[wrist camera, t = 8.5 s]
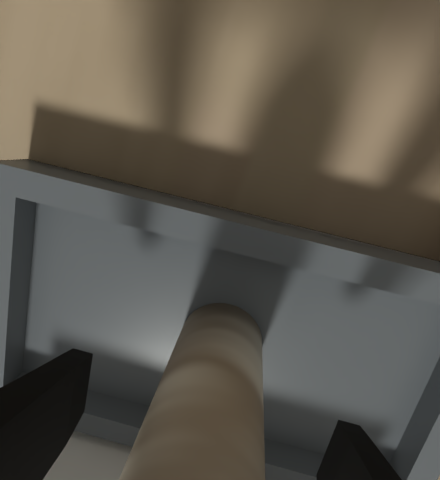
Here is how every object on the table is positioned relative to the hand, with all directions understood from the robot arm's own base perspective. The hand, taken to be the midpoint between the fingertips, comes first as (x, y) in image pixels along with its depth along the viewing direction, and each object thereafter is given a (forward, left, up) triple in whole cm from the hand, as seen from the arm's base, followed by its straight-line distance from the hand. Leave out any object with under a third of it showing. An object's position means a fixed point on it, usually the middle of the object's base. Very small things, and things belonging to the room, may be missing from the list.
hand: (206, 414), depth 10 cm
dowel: (0, 0, -4) cm, 4 cm away
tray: (0, 0, -5) cm, 5 cm away
